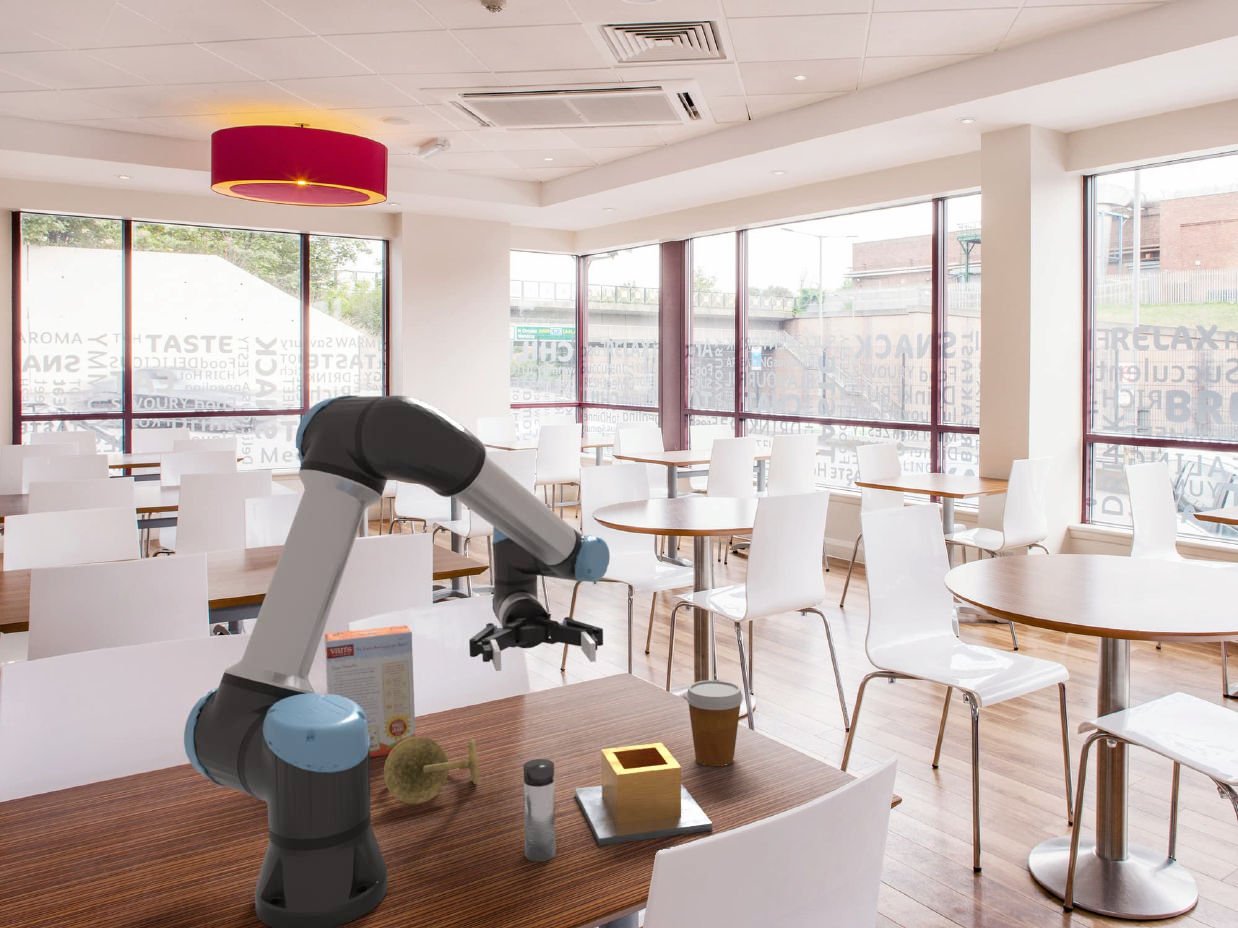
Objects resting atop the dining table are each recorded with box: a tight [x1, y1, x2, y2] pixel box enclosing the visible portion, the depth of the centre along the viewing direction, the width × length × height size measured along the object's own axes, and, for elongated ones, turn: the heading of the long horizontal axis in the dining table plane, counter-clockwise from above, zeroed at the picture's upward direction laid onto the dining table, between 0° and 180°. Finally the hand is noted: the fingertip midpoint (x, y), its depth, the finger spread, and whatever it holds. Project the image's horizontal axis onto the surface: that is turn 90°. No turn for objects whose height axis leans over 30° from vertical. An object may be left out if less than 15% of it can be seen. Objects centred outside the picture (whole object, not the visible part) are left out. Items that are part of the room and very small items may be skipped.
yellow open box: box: [574, 742, 713, 846], centre depth 129 cm, size 16×16×8 cm
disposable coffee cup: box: [685, 679, 744, 767], centre depth 147 cm, size 10×10×12 cm
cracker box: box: [324, 624, 416, 758], centre depth 152 cm, size 14×6×21 cm, turn 111°
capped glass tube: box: [522, 758, 557, 863], centre depth 117 cm, size 4×4×12 cm
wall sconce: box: [383, 736, 479, 805], centre depth 132 cm, size 14×10×25 cm
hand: (546, 656), depth 127 cm, fingers open, 13 cm apart
